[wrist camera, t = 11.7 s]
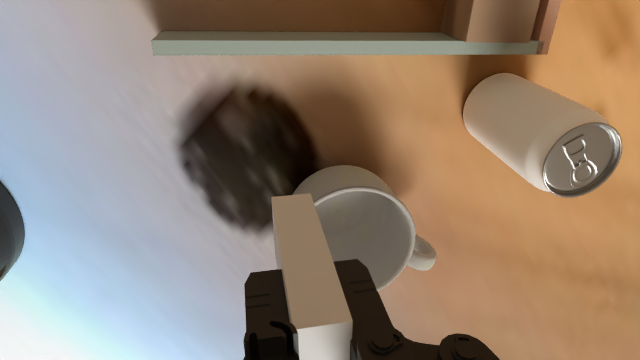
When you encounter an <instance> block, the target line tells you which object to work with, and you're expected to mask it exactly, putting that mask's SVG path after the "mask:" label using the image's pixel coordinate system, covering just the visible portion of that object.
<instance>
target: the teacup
mask: <svg viewBox="0 0 640 360" xmlns="http://www.w3.org/2000/svg"><path fill="white" fill-rule="evenodd" d="M308 193H311V196H312V199H313V202H314V205H315V208H316V211H317V214H318V217H319V220H320V223H321V226H322V229H323V232H324V235H325V238H326V241H327V245H328V248H329V251H330V254H331V257H332V260H333V262H335V261H343V260H351V259H358V260H359V261H360V262H361V263H363V264H364V265H365V266H366V267H367V268H368V270H369V272H370V275H371V277H372V280H373V282H374V284H375V286H376V290H377V291H380V290H381V289H383V288H385V287H386V286H387V285H389V284H390V283H391V282H392V281H394V280H395V279H396V277H397V276H398V275H399V274H400V273H401V272H402V271H403V270H404V268H405V267H406V265H408V266H410V267H412V268H415V269H418V270H423V271H424V270H428V269H430V268H431V267H432V266H433V265H434V263H435V261H436V252H435V250H434V248H433V247H432V246H431V245H430V244H429V243H428V242H427V241H425V240H424V239H423V238H421V237H419V236H418V235H416V234H415V225H414V222H413V219H412V216H411V214H410V212H409V211H408V209H407V208H406V207H405V205H404V204H403V203H402V202H401V201H400V200H399V199H398V198H397V196H396V195H395V194H394V192H393V191H392V190H391V189H390V187H389V186H388V185H387V184H386V183H385V182H384V181H383V180H382V179H381V178H379V177H378V176H377V175H375V174H374V173H372V172H370V171H368V170H366V169H364V168H361V167H357V166H351V165H338V166H331V167H327V168H325V169H322V170H320V171H317V172H315V173H314V174H312V175H311V176H309V177H308V178H306V179H305V180H304V181H303V182H302V183H301V184H300V185H299V186H298V187H297V189H296V190H295V192H294V193H293V195H298V194H308Z"/></svg>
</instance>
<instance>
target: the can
mask: <svg viewBox="0 0 640 360" xmlns="http://www.w3.org/2000/svg"><path fill="white" fill-rule="evenodd" d="M463 120H464V124H465V126H466V128H467V130H468V131H469V133H470V134H471V135H472V136H473V137H475V138H476V139H477V140H478V141H479V142H480V143H482V144H483V145H484V146H485V147H486V148H488V149H489V150H490V151H491V152H493V153H494V154H495V155H496V156H497V157H499V158H500V159H501V160H502V161H503V162H505V163H506V164H507V165H508V166H510V167H511V168H512V169H513V170H514V171H516V172H517V173H518V174H519V175H521V176H522V177H523V178H524V179H526V180H527V181H528V182H529V183H531V184H532V185H533V186H535V187H537V188H538V189H540V190H543V191H547V192H551V193H553V194H555V195H557V196H560V197H565V198H572V197H578V196H582V195H585V194H587V193H589V192H591V191H593V190H595V189H596V188H598V187H599V186H600V185H602V184H603V183H604V182H605V181H606V180H607V179H608V178H609V177H610V176H611V174H612V173H613V172H614V170H615V169H616V167H617V165H618V163H619V160H620V157H621V154H622V140H621V137H620V135H619V133H618V132H617V130H616V129H615V128H613V127H612V126H610V125H609V123H608V122H607V121H606V119H605V118H604V117H603V116H602V115H600V114H599V113H597V112H596V111H594V110H592V109H590V108H588V107H586V106H584V105H581V104H579V103H577V102H575V101H573V100H571V99H569V98H566V97H564V96H562V95H560V94H558V93H555V92H553V91H551V90H549V89H547V88H545V87H542V86H540V85H538V84H536V83H533V82H531V81H529V80H527V79H524V78H522V77H520V76H517V75H515V74H511V73H499V74H495V75H492V76H489V77H487V78H486V79H484V80H483V81H481V82H480V83H479V84H478V85H477V86H476V87H475V88H474V89H473V90H472V91H471V93H470V94H469V96H468V98H467V100H466V102H465V106H464V110H463Z"/></svg>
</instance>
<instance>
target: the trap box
mask: <svg viewBox="0 0 640 360" xmlns="http://www.w3.org/2000/svg"><path fill="white" fill-rule="evenodd" d="M560 4H561V0H540V2H539V6H538V10H537V14H536V18H535V22H534V26H533V30H532V34H531V38H530V42H529V43H484V42H464V41H462V40H459V39H457V38H455V37H452V36H450V35H447V34H445V33H443V32H248V31H161V32H160V33H159V34H158V35H157V36H156V37H155V38H153V39H152V40H151V42H152V49H153V55H512V54H547V53H548V49H549V45H550V42H551V38H552V34H553V30H554V27H555V23H556V19H557V15H558V11H559V8H560Z"/></svg>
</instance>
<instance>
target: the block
mask: <svg viewBox="0 0 640 360" xmlns="http://www.w3.org/2000/svg"><path fill="white" fill-rule="evenodd" d="M539 2H540V0H445V4H444V10H443V16H442V22H441V29H440V32H443V33H445V34H447V35H450V36H452V37H455V38H457V39H459V40H462V41H464V42H484V43H529V42H530V38H531V34H532V30H533V26H534V22H535V18H536V14H537V10H538V6H539Z"/></svg>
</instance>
